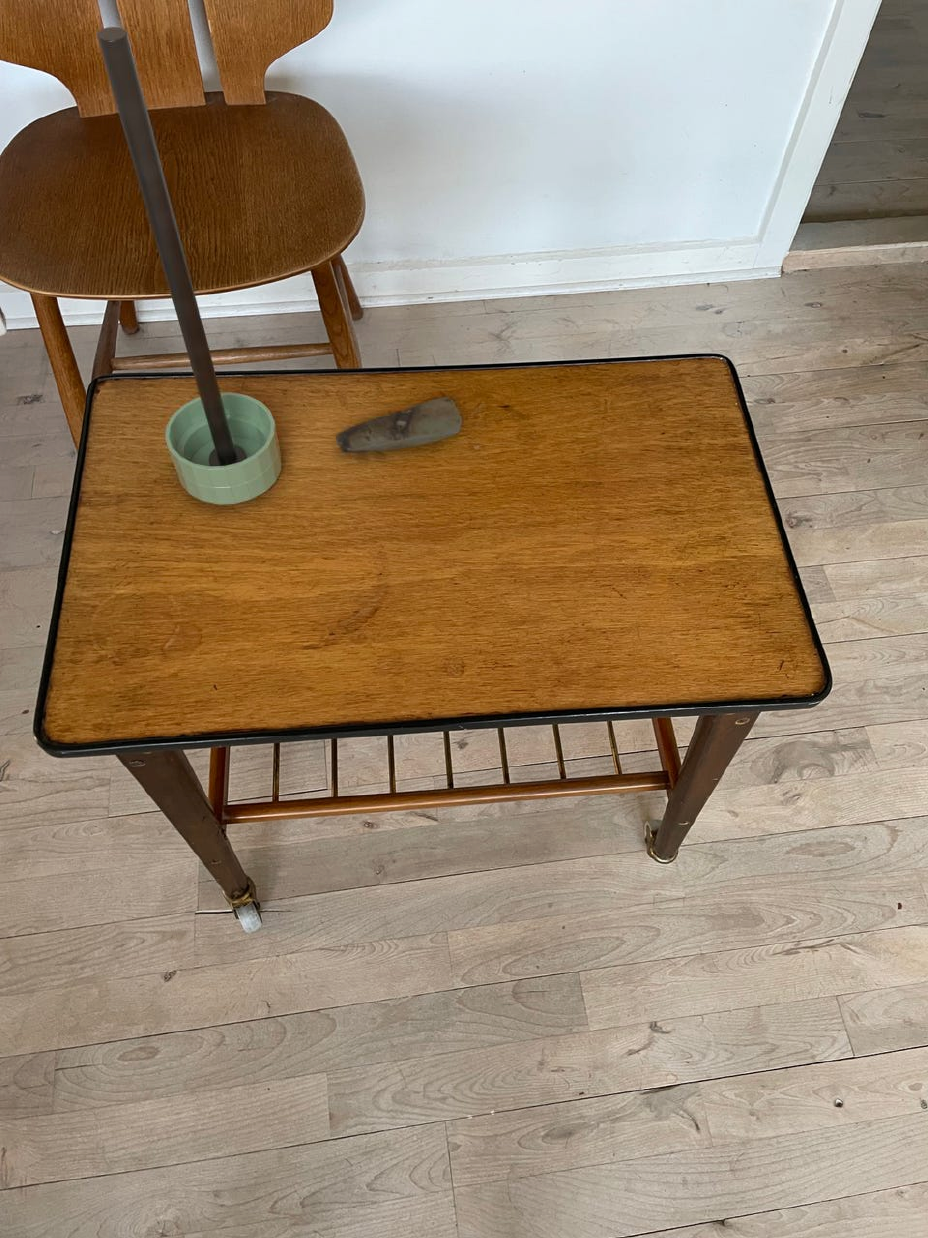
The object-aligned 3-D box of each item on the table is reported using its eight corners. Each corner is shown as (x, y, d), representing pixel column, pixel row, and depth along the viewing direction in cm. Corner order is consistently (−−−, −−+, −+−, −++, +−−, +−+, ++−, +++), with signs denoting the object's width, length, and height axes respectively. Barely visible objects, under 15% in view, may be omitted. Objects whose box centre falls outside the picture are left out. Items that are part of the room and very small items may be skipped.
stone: (450, 407, 90) (451, 391, 88) (468, 439, 88) (469, 423, 86) (332, 438, 87) (330, 422, 85) (347, 472, 85) (345, 456, 83)
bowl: (157, 480, 83) (142, 440, 78) (224, 419, 88) (213, 378, 83) (238, 524, 80) (227, 485, 76) (302, 459, 85) (296, 418, 81)
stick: (203, 469, 83) (68, 36, 51) (227, 446, 85) (110, 14, 53) (232, 484, 82) (112, 53, 50) (255, 461, 84) (154, 30, 52)
